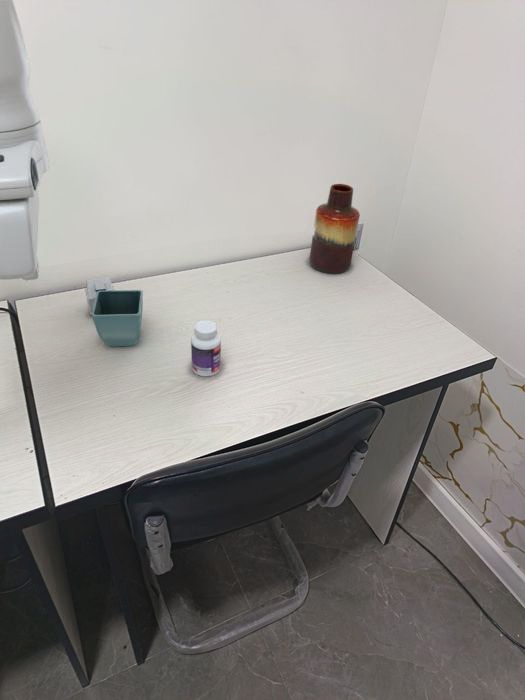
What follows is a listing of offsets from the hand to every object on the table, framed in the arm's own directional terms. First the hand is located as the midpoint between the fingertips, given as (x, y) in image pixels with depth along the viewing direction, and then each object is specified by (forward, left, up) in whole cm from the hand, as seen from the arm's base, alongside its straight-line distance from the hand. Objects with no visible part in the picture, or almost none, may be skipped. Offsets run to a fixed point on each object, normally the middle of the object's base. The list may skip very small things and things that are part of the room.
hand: (31, 273), depth 58 cm
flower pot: (+10, +27, -31) cm, 42 cm away
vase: (+65, +47, -31) cm, 86 cm away
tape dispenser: (+7, +38, -31) cm, 50 cm away
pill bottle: (+24, +14, -31) cm, 42 cm away
